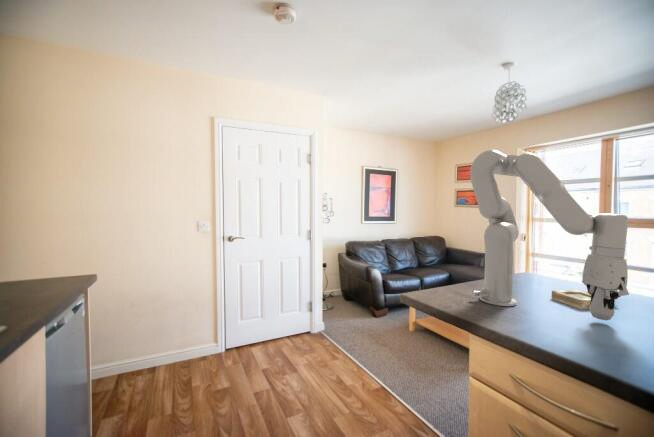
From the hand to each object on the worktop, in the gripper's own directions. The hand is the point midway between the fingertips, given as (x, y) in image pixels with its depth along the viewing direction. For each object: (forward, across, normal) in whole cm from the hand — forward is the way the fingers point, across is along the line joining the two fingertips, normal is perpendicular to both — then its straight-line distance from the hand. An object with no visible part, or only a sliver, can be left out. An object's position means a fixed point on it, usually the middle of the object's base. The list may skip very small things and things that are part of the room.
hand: (601, 307), depth 90 cm
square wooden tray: (+5, -18, +12) cm, 22 cm away
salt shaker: (+3, 0, 0) cm, 3 cm away
